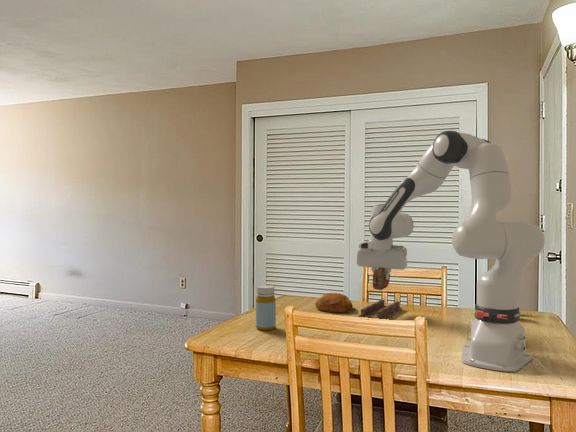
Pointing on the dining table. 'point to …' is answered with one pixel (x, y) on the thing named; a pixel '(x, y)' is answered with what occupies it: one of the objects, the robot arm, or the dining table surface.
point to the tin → (380, 279)
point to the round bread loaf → (334, 303)
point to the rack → (380, 310)
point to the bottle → (265, 308)
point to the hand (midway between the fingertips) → (381, 279)
